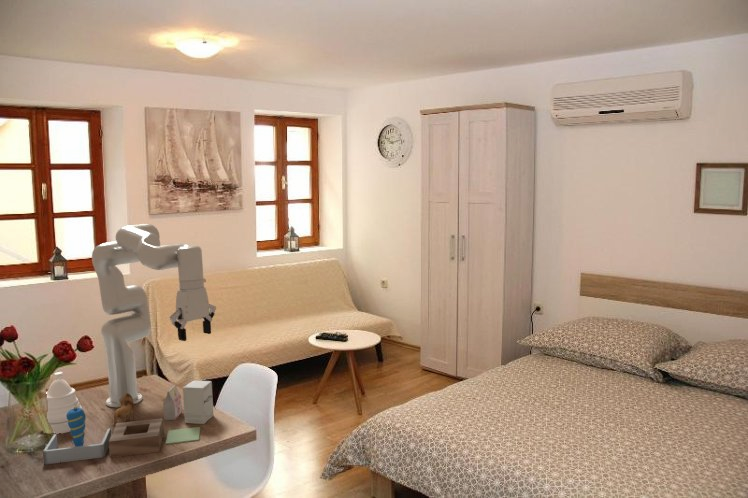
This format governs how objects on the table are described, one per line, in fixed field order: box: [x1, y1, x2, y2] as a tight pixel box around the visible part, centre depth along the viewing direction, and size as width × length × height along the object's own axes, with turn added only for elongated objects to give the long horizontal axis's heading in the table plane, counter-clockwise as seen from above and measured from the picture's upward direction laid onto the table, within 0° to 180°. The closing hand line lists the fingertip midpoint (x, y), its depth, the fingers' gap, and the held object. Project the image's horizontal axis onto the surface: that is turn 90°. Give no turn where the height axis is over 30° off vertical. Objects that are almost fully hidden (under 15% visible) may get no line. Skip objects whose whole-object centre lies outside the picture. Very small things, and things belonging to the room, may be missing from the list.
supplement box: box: [182, 380, 214, 425], centre depth 213 cm, size 7×7×13 cm
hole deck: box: [108, 417, 165, 458], centre depth 195 cm, size 14×14×5 cm
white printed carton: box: [163, 384, 183, 421], centre depth 217 cm, size 4×7×10 cm, turn 177°
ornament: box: [66, 405, 87, 447], centre depth 191 cm, size 5×5×15 cm
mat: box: [165, 426, 201, 445], centre depth 201 cm, size 10×10×1 cm
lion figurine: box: [112, 393, 135, 432], centre depth 211 cm, size 15×5×9 cm, turn 10°
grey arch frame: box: [42, 427, 112, 465], centre depth 192 cm, size 12×17×4 cm
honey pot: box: [45, 371, 83, 435], centre depth 211 cm, size 13×13×18 cm
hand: (195, 336), depth 202 cm, fingers open, 9 cm apart
